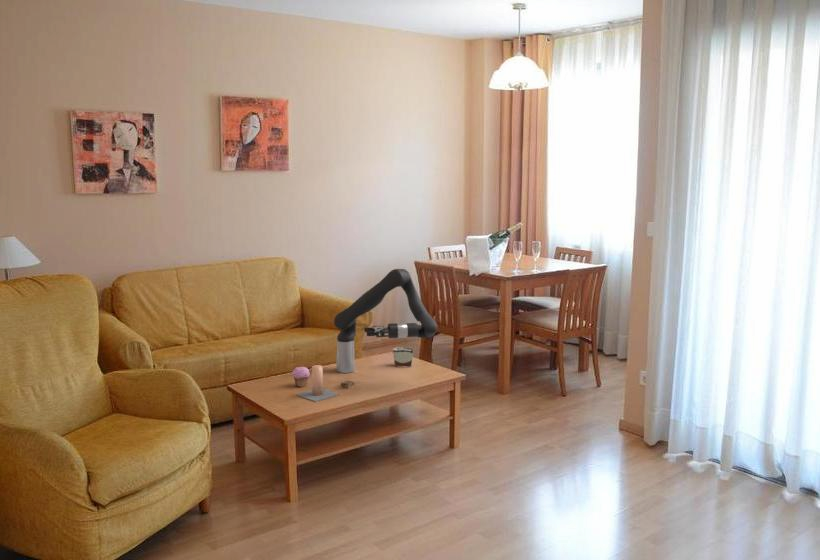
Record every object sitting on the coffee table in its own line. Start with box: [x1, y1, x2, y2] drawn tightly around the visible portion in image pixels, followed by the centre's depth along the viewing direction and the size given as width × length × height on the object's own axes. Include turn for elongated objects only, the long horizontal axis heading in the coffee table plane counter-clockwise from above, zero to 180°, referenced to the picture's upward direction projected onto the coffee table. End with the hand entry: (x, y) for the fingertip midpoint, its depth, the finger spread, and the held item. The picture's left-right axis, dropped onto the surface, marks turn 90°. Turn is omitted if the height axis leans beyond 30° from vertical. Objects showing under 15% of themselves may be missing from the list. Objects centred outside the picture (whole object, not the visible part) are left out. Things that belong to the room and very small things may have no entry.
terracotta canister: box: [311, 364, 324, 396], centre depth 359 cm, size 5×5×14 cm
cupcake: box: [291, 366, 311, 388], centre depth 374 cm, size 9×9×10 cm
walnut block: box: [340, 380, 355, 389], centre depth 374 cm, size 5×5×2 cm
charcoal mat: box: [295, 388, 340, 403], centre depth 360 cm, size 15×15×1 cm
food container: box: [391, 346, 415, 367], centre depth 412 cm, size 12×6×10 cm, turn 84°
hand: (365, 331), depth 364 cm, fingers open, 8 cm apart
